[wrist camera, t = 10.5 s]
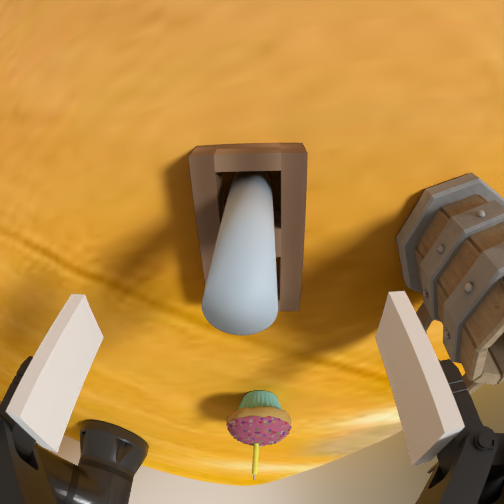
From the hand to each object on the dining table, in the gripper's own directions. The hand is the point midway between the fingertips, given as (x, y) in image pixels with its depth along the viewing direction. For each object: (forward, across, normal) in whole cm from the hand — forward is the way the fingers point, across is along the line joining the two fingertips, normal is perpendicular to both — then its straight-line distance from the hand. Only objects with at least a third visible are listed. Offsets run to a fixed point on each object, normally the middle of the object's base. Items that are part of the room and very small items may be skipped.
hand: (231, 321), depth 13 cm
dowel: (+14, 0, 0) cm, 14 cm away
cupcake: (+15, 0, -30) cm, 34 cm away
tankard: (+14, +19, -8) cm, 25 cm away
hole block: (+14, 0, -3) cm, 15 cm away
